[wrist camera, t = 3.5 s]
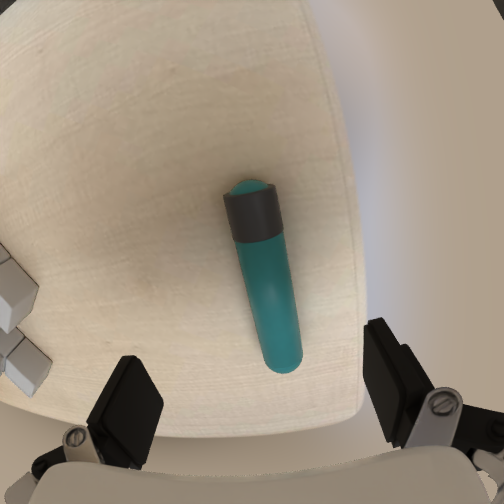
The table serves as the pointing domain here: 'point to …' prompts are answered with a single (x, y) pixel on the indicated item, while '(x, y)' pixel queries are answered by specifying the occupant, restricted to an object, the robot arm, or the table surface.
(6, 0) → the black tray
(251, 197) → the marker pen
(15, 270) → the grey cube puzzle structure
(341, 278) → the table surface
